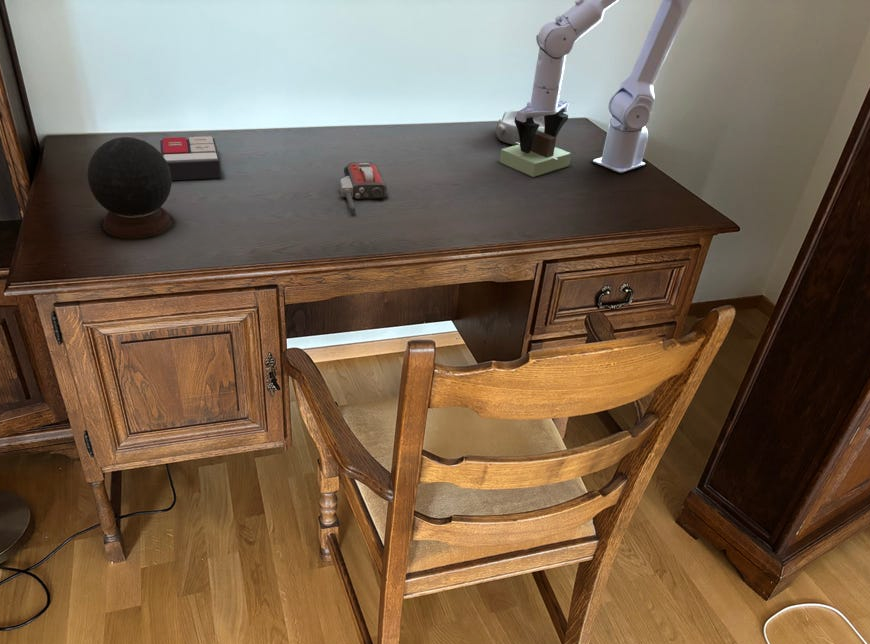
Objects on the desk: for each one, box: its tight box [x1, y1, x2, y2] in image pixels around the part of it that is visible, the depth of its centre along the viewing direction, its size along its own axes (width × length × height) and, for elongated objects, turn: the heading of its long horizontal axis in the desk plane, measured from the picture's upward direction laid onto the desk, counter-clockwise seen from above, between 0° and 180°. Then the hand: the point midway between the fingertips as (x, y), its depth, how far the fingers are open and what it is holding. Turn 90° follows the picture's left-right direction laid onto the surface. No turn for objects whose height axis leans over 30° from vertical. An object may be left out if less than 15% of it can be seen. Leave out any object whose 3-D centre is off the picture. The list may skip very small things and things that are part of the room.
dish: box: [495, 109, 545, 146], centre depth 178 cm, size 14×14×5 cm
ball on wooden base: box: [87, 136, 173, 240], centre depth 125 cm, size 13×13×15 cm
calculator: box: [159, 135, 223, 181], centre depth 151 cm, size 11×4×15 cm
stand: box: [499, 142, 572, 178], centre depth 165 cm, size 12×12×3 cm
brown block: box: [531, 130, 557, 157], centre depth 163 cm, size 8×2×4 cm, turn 41°
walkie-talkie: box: [339, 161, 387, 212], centre depth 145 cm, size 9×4×20 cm
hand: (536, 148), depth 164 cm, fingers open, 7 cm apart
